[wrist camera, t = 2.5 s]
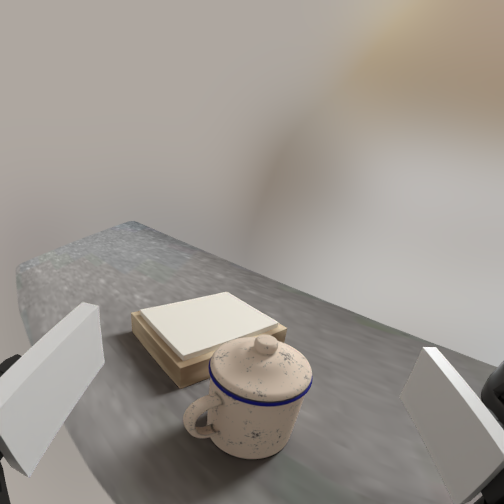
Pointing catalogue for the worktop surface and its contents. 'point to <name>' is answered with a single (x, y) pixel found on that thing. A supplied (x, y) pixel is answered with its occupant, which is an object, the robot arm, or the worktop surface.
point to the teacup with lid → (251, 396)
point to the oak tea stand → (198, 332)
